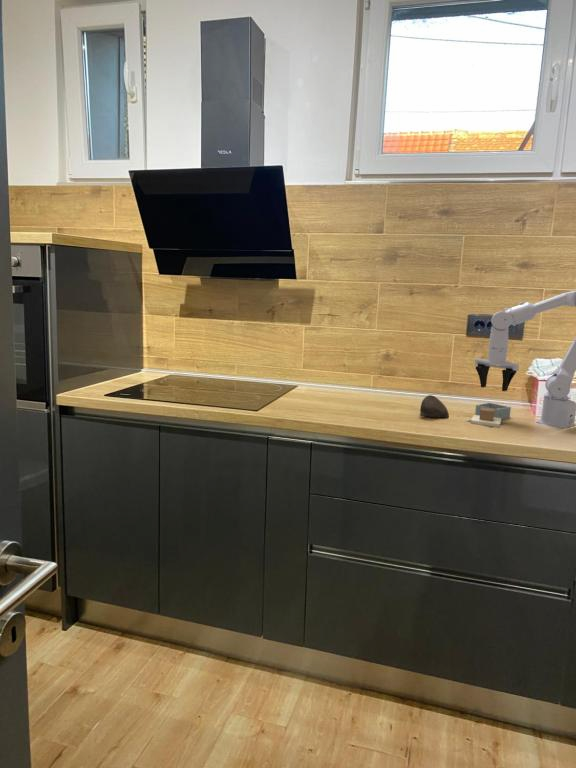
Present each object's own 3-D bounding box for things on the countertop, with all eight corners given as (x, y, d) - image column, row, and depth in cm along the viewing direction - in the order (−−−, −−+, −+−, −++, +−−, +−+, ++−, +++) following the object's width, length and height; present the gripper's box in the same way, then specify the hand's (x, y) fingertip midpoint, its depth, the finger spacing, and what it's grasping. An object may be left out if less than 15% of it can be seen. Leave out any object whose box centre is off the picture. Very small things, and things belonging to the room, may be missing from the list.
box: (509, 418, 190) (510, 407, 190) (496, 421, 185) (497, 409, 185) (487, 413, 196) (489, 402, 196) (474, 416, 191) (476, 405, 191)
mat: (506, 424, 182) (506, 423, 182) (491, 428, 176) (491, 427, 176) (481, 418, 188) (481, 417, 188) (465, 422, 183) (465, 421, 183)
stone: (437, 424, 194) (417, 402, 195) (455, 410, 189) (435, 388, 191) (429, 435, 186) (408, 412, 187) (448, 420, 181) (426, 397, 182)
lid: (501, 421, 184) (502, 408, 184) (499, 427, 177) (500, 413, 176) (473, 417, 188) (475, 405, 187) (470, 423, 180) (472, 410, 179)
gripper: (525, 350, 184) (520, 391, 186) (484, 345, 194) (480, 384, 197) (514, 351, 179) (509, 393, 182) (473, 346, 190) (469, 386, 192)
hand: (493, 388), depth 189 cm, fingers open, 7 cm apart
